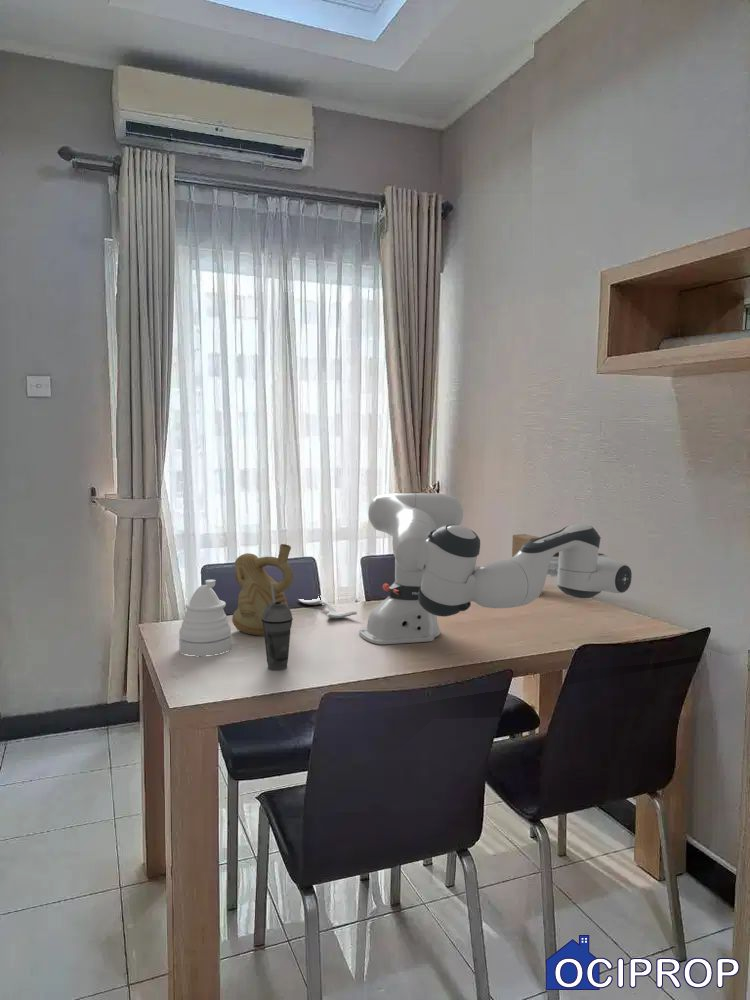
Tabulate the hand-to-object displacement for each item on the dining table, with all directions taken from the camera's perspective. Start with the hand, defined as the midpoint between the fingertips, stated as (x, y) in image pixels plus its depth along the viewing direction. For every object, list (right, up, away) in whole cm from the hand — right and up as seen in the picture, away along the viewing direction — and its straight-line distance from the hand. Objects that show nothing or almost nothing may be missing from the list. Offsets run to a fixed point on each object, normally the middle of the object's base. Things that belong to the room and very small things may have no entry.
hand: (550, 559), depth 200 cm
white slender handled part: (-67, -18, +16) cm, 71 cm away
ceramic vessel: (-83, -20, -7) cm, 85 cm away
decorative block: (+2, -16, +43) cm, 46 cm away
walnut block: (0, +6, -2) cm, 6 cm away
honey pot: (-95, -21, -24) cm, 100 cm away
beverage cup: (-74, -22, -38) cm, 86 cm away
